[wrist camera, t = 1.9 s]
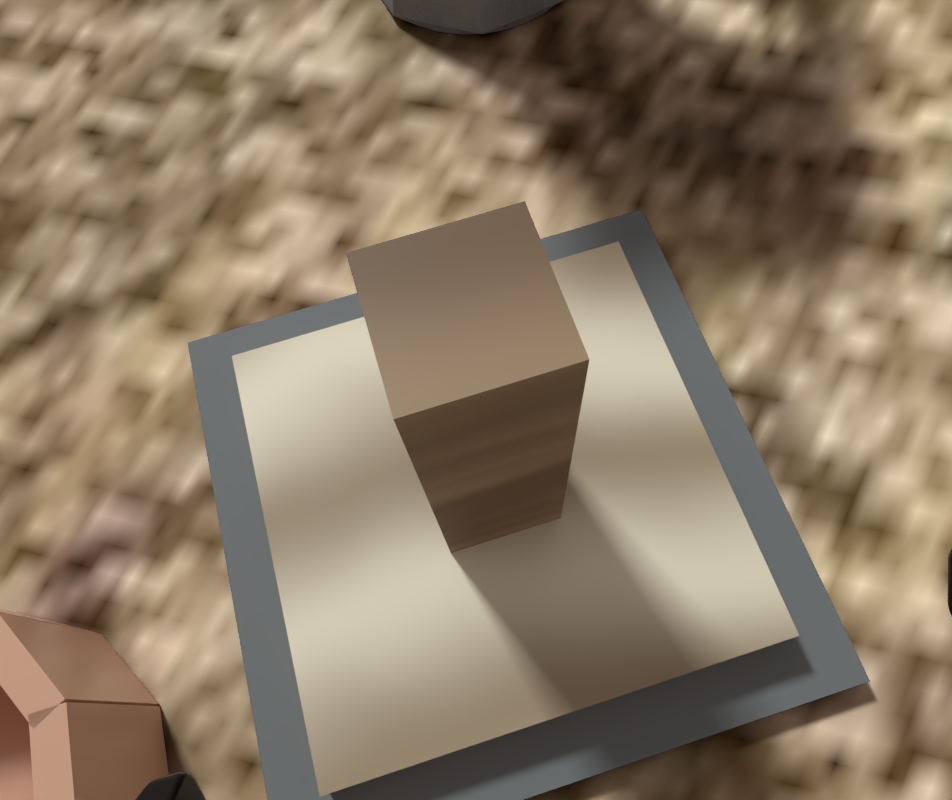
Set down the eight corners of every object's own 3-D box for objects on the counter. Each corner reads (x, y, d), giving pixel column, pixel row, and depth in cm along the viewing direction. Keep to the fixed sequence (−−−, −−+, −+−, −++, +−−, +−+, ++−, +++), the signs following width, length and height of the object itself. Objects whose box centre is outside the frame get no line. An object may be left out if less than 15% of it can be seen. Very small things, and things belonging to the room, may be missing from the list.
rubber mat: (861, 682, 19) (869, 681, 19) (288, 878, 19) (282, 882, 18) (639, 218, 25) (641, 209, 25) (193, 350, 24) (187, 343, 24)
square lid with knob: (786, 639, 20) (1044, 558, 10) (329, 793, 19) (123, 867, 9) (614, 259, 24) (676, -50, 14) (243, 370, 23) (45, 121, 14)
